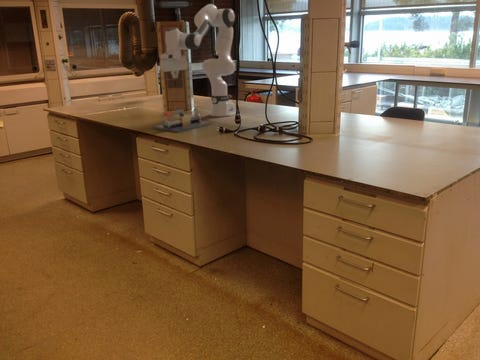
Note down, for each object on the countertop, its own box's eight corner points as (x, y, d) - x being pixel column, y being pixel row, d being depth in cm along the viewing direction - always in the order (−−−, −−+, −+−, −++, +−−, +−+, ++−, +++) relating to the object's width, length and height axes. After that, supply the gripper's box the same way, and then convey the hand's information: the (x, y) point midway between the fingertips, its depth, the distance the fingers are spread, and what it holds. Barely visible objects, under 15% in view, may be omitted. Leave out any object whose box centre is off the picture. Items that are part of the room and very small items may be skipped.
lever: (181, 114, 283) (181, 108, 282) (186, 114, 281) (185, 109, 280) (163, 118, 270) (163, 112, 269) (167, 119, 268) (167, 113, 267)
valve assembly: (187, 121, 300) (186, 110, 298) (211, 124, 287) (211, 113, 285) (152, 128, 278) (151, 117, 276) (178, 132, 265) (177, 120, 263)
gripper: (182, 54, 290) (183, 76, 294) (158, 56, 275) (159, 79, 279) (189, 54, 286) (190, 76, 290) (165, 56, 271) (166, 79, 275)
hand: (175, 78), depth 284 cm, fingers closed
